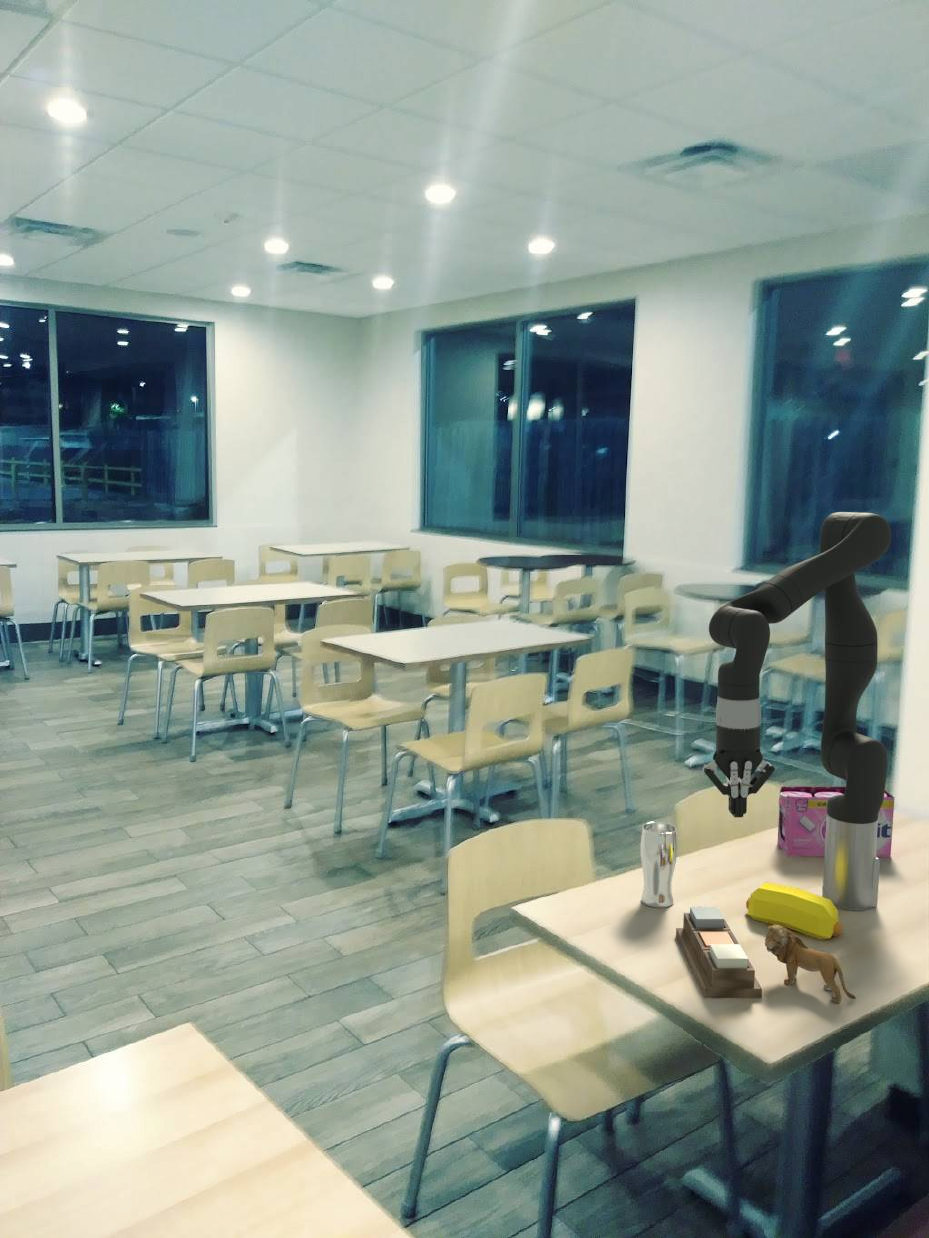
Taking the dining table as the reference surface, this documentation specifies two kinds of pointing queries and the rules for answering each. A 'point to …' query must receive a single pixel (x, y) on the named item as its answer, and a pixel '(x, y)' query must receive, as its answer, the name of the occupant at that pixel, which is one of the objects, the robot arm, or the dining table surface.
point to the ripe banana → (794, 910)
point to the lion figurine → (804, 959)
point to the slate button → (706, 917)
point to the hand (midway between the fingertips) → (737, 815)
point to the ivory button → (728, 956)
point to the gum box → (821, 820)
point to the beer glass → (658, 863)
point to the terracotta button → (715, 938)
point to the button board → (706, 974)
